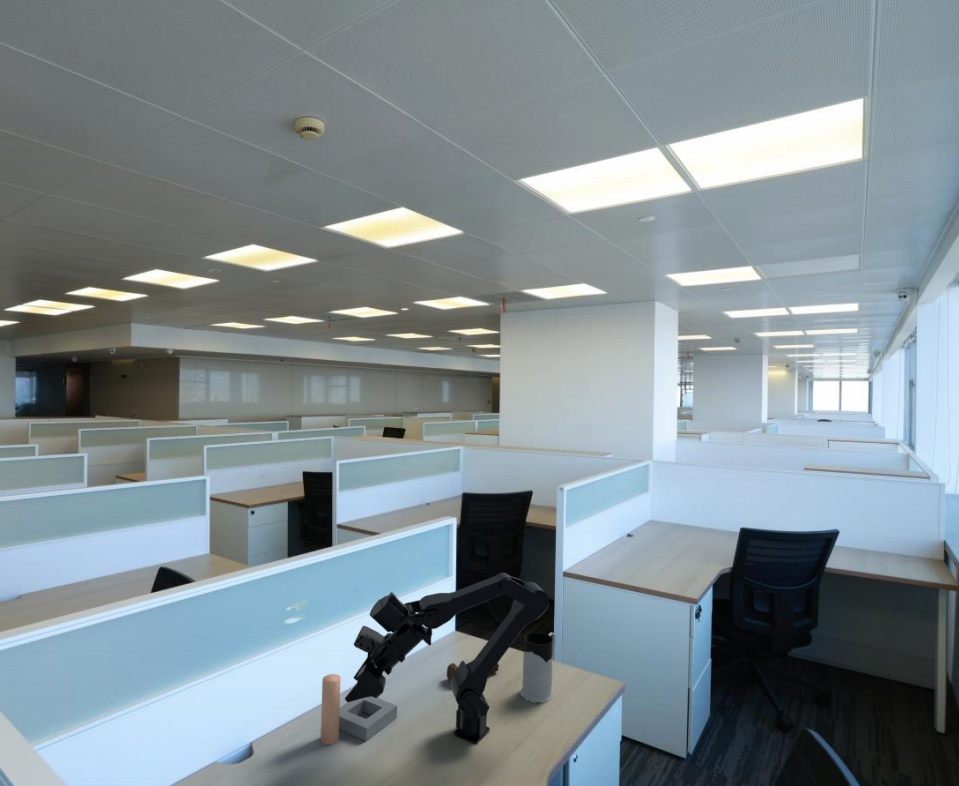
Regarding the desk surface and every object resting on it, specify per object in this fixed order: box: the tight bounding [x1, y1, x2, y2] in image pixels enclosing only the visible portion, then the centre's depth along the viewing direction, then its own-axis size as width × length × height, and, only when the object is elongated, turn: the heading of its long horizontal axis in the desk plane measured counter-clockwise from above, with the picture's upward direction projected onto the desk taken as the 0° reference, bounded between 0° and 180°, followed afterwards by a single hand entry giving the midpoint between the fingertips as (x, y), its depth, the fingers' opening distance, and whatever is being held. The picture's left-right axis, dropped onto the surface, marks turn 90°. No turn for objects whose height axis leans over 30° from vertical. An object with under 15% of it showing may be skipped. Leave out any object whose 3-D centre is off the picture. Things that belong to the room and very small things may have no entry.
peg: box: [320, 673, 341, 746], centre depth 128 cm, size 4×4×14 cm
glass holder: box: [520, 631, 556, 704], centre depth 152 cm, size 9×14×15 cm, turn 146°
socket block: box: [339, 697, 398, 742], centre depth 135 cm, size 11×11×3 cm
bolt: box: [446, 662, 500, 685], centre depth 158 cm, size 6×5×15 cm
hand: (350, 689), depth 128 cm, fingers open, 9 cm apart
